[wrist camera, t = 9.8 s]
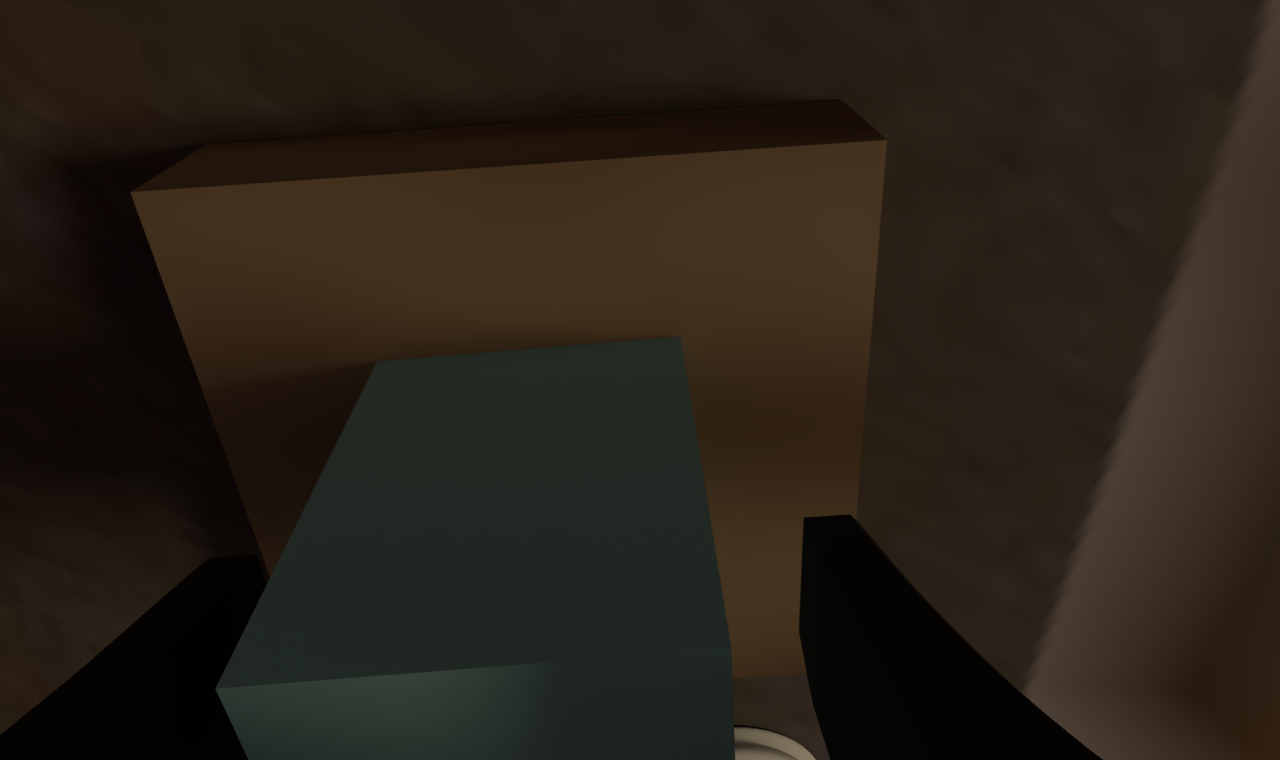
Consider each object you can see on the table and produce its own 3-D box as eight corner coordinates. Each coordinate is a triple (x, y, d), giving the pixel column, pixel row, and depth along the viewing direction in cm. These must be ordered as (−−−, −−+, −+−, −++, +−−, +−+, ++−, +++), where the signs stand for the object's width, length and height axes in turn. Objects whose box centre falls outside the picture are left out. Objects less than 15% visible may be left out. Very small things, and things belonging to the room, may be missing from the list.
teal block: (694, 568, 15) (740, 932, 10) (436, 588, 15) (343, 963, 10) (680, 336, 13) (731, 648, 7) (376, 361, 13) (215, 688, 7)
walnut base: (816, 579, 18) (843, 671, 16) (351, 610, 18) (316, 707, 16) (841, 100, 13) (886, 140, 11) (207, 144, 14) (130, 191, 11)
